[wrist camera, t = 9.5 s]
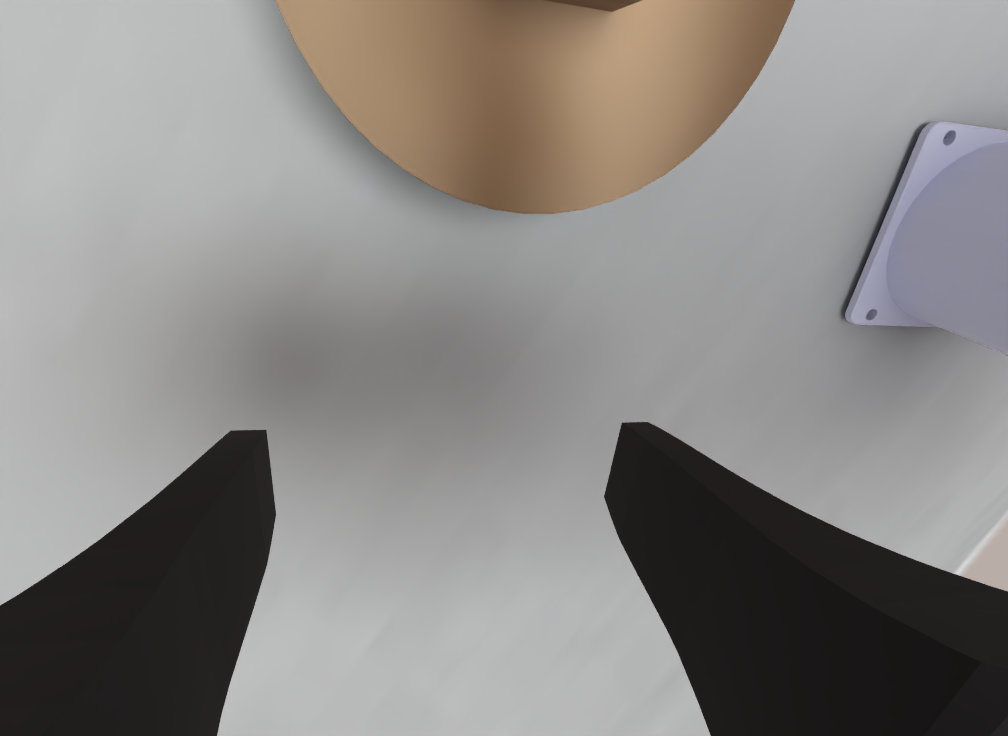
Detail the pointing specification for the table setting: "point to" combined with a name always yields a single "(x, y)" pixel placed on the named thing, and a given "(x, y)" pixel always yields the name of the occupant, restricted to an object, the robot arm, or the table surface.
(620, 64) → the lid
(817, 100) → the table surface
